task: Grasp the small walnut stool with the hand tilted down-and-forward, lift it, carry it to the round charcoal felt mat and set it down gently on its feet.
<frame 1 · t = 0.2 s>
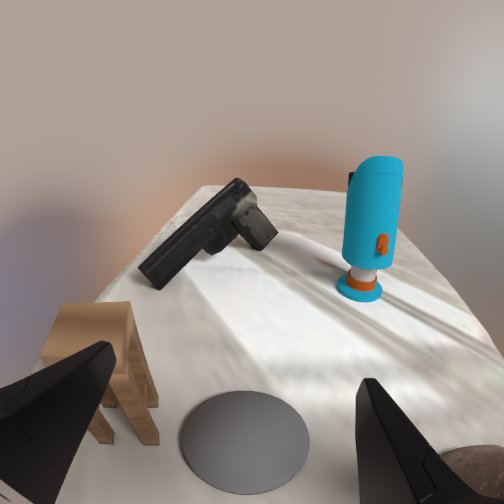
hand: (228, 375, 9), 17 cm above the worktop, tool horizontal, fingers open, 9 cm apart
security camera: (358, 288, 44), on the worktop
mat: (245, 440, 21), on the worktop
stool: (129, 420, 22), on the worktop
handgun: (217, 265, 51), on the worktop
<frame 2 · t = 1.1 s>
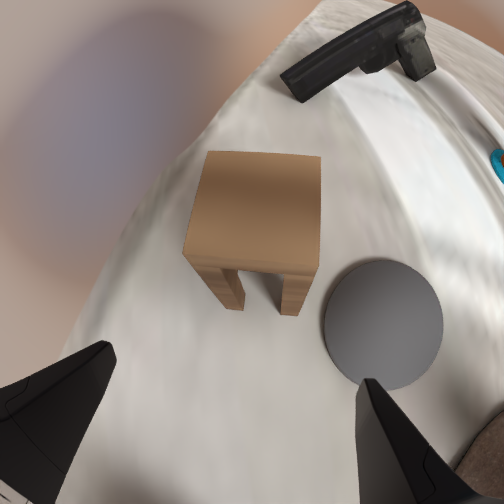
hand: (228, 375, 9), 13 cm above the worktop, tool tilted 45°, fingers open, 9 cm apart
sculpture: (494, 477, 14), on the worktop
mat: (387, 324, 22), on the worktop
stool: (265, 278, 24), on the worktop
handgun: (368, 84, 34), on the worktop
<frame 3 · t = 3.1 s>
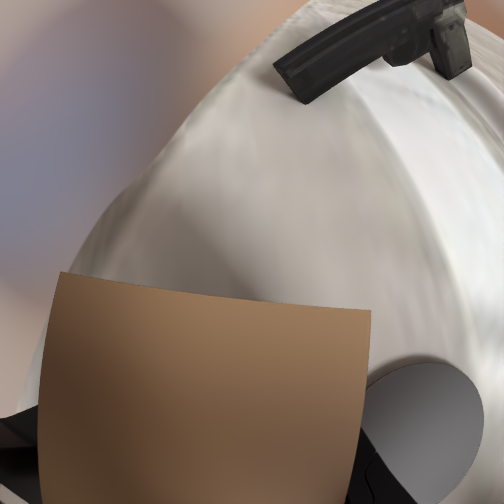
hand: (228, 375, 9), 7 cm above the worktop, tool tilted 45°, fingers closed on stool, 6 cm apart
mat: (412, 448, 12), on the worktop
stool: (243, 395, 15), on the worktop, touching gripper
handgun: (393, 81, 24), on the worktop
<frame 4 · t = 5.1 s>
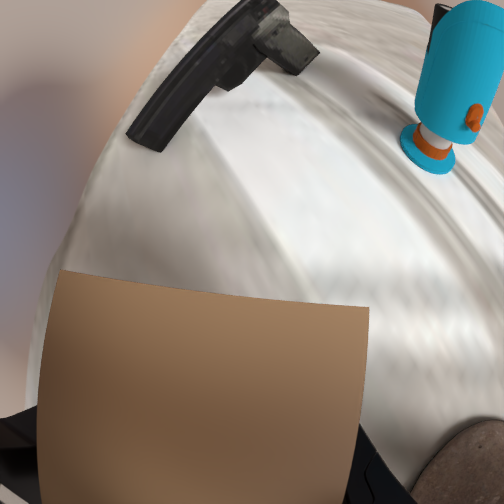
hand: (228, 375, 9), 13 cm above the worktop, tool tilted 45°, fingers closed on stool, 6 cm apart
sculpture: (464, 491, 14), on the worktop
security camera: (426, 148, 29), on the worktop
stool: (243, 394, 15), point 7 cm above the worktop, touching gripper
handgun: (237, 100, 33), on the worktop
when the fingers open (8 cm above the worktop, at t = 7.0 s): stool stays where it is, resting on mat.
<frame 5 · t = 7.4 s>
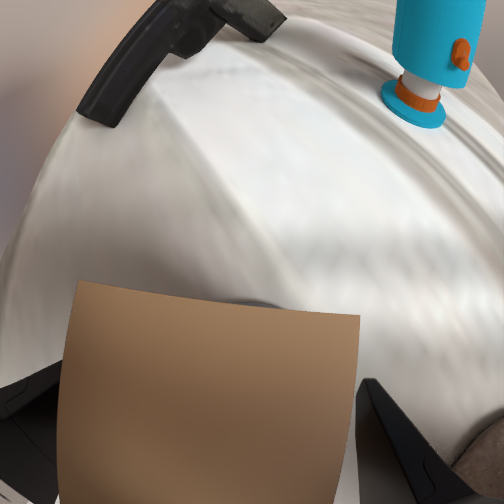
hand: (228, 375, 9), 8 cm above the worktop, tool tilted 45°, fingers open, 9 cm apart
sculpture: (490, 497, 10), on the worktop
security camera: (411, 103, 24), on the worktop
stool: (245, 393, 15), point 1 cm above the worktop, touching mat
handgun: (198, 70, 29), on the worktop
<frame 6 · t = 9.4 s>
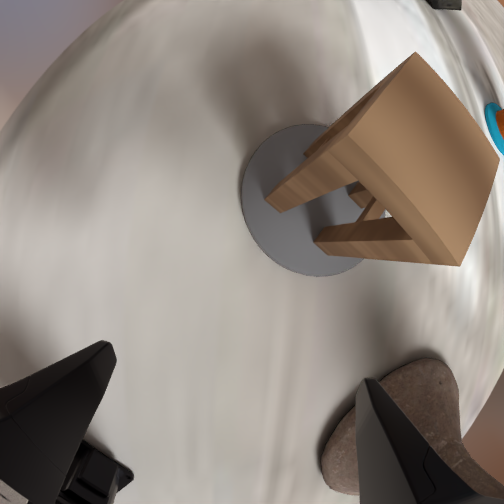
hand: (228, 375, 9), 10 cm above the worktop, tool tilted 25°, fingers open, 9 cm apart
sculpture: (393, 431, 23), on the worktop
security camera: (499, 128, 24), on the worktop
mat: (318, 198, 20), on the worktop
stool: (321, 196, 20), point 1 cm above the worktop, touching mat
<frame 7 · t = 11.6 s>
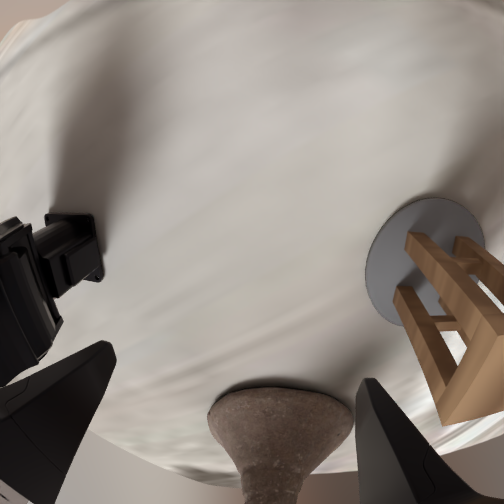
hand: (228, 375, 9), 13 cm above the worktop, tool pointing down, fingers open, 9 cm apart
sculpture: (280, 424, 30), on the worktop
mat: (428, 266, 20), on the worktop
stool: (432, 269, 19), point 1 cm above the worktop, touching mat
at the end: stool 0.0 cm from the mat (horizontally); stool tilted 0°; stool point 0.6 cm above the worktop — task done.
